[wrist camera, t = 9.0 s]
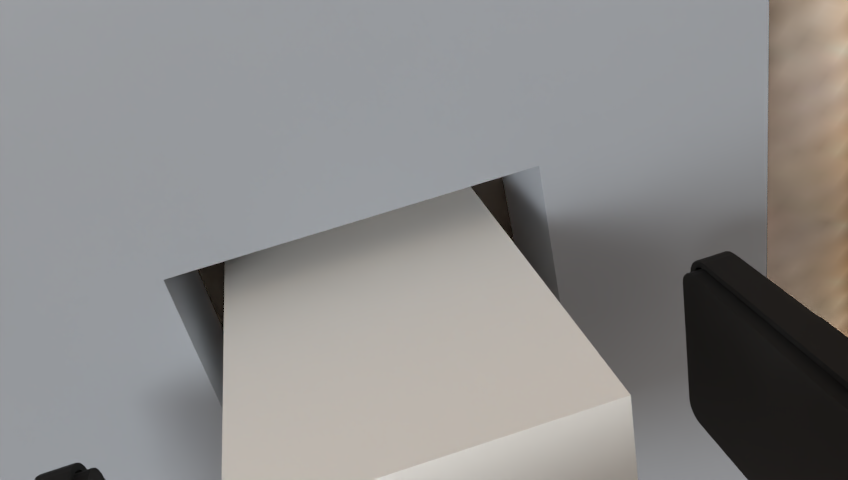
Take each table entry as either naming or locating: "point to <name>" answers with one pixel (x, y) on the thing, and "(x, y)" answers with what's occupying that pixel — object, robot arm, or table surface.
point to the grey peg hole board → (353, 188)
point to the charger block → (412, 359)
